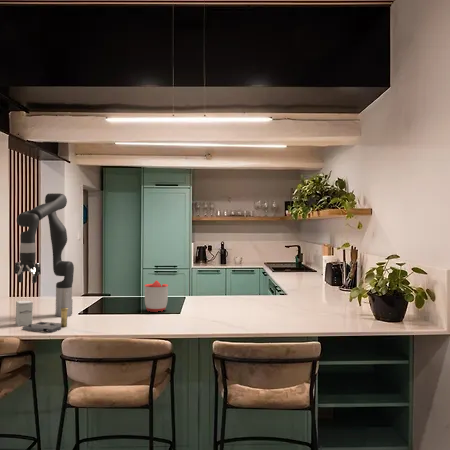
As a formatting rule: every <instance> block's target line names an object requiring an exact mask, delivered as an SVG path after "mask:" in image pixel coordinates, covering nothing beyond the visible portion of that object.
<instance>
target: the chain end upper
mask: <svg viewBox="0 0 450 450" xmlns="http://www.w3.org/2000/svg"><path fill="white" fill-rule="evenodd" d="M31 328H42V329H47V331H46V333H55V332H57V330H58V331H61V330H62V327H61V322H49V321H38V322H35V323H32V324H31Z"/></svg>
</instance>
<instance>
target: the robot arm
mask: <svg viewBox="0 0 450 450" xmlns="http://www.w3.org/2000/svg"><path fill="white" fill-rule="evenodd" d="M67 203H68V200H67V196H66V195H65V194H64V193H47V194H46V195H45V197H44V203H42V204H39V205H37V206H35V207H33V208H32V209H30V210H27V211H23V212H21V213H20V214H18V215H17V217H16V223H17V225H18V226H20V227H22V228H23V227H25V228H27V230H26V231H22V232H21V233H20V234H19V235H20V244H19V261H18V262H15V263H14V271H13V272H14V274H15V275H17V282H18V283H23V282H24V281H23V280H24V276H23V275H24V272H29V273H30V274H31V275H32V278H31V280H32V284H36V283H37V282H38V276H39V275H41V271H42V269H41V263H40V262H37V263H36V262H35V261H36V255H37V254H36V253H37V252H36V249H37V248H36V234H37V231H38V227H39V224H40V221H41V220H43V219H44V218H45V217H47V219H48V225H49V234H50V235H49V236H50V243H51V249H52V269H53V273H54V275H55V276H56V277H63V280H60V281H58V282H57V283H55V317H59V318H61V308H68V310H67V317H70V316H72V314H73V283H74V271H75V270H74V269H75V267H74V266H75V265H74V263H73V262H72V261H69V260H67V261H66V260H62V253H63V250H64V248H65V247H66V245H67V242H68V233H67V232H68V231H67V229H66V227H65V225H64V224H63V222H62V221H61V220H60V218H59V217H58V215H57V211H60V210H62V209H64V208H66V206H67Z"/></svg>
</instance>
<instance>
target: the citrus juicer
mask: <svg viewBox="0 0 450 450" xmlns="http://www.w3.org/2000/svg"><path fill="white" fill-rule="evenodd" d="M168 295H169V284H167V283H163V284H161V283H160V282H159V281H158V280H155V281H154V282H153V283H148V284H144V304H145V308H146V311H147V312H149V311H150V313H159V312H158V311H161V312H164V311H163V310H166V308H167V305H168V299H169V298H168V297H169V296H168Z"/></svg>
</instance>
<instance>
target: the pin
mask: <svg viewBox="0 0 450 450" xmlns="http://www.w3.org/2000/svg"><path fill="white" fill-rule="evenodd" d="M67 310H68V308H61V317H60V323H61V328H68V316H67Z"/></svg>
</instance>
